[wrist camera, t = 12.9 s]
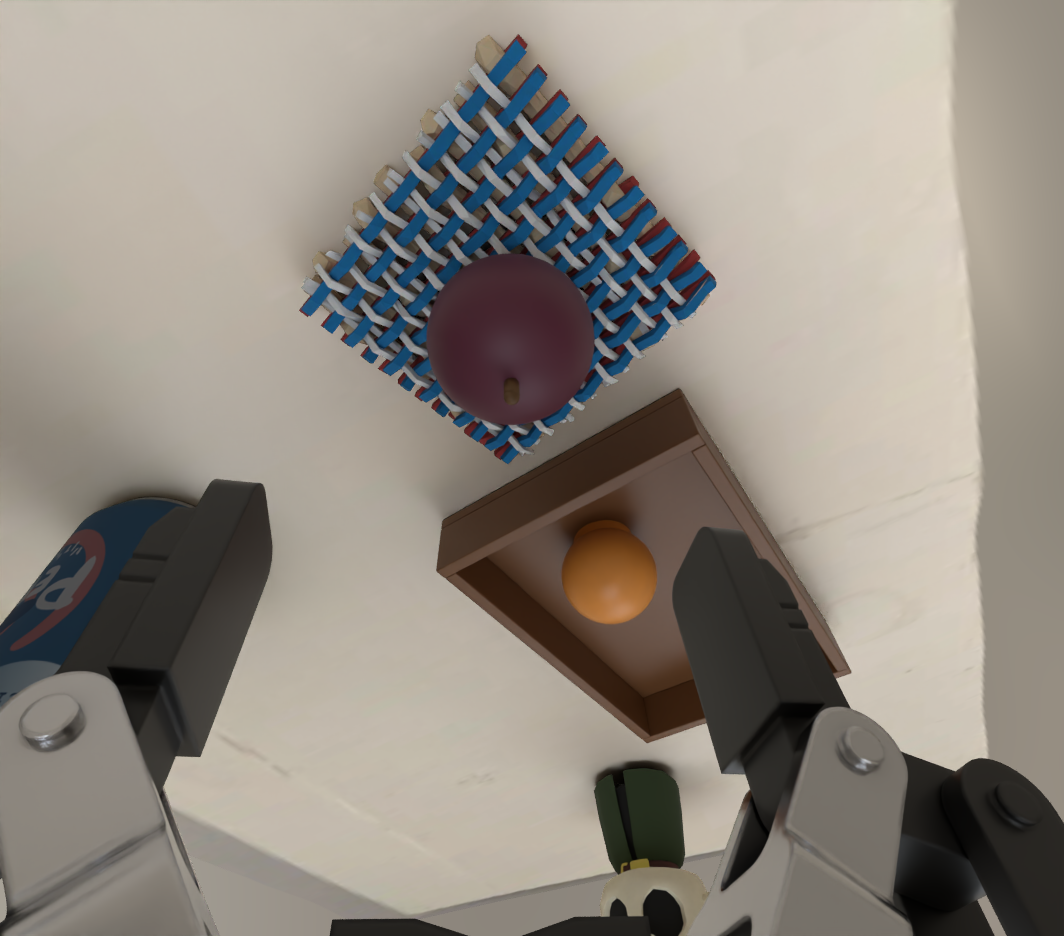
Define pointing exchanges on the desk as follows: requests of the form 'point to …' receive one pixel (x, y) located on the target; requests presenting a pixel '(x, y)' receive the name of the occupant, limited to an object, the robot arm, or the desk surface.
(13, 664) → the soda can
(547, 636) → the tray
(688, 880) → the character mug
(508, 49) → the woven mat
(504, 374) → the plum
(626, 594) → the apricot
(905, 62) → the desk surface
